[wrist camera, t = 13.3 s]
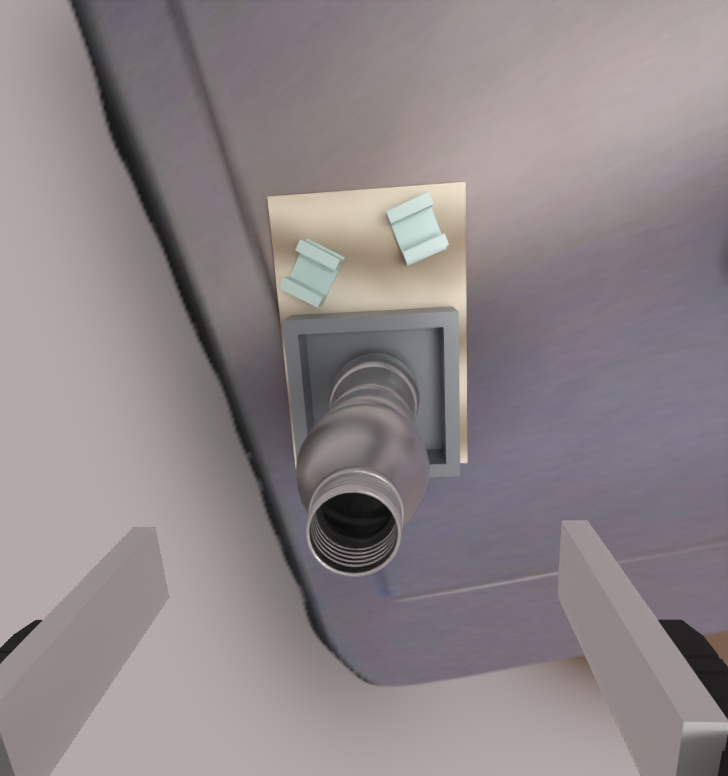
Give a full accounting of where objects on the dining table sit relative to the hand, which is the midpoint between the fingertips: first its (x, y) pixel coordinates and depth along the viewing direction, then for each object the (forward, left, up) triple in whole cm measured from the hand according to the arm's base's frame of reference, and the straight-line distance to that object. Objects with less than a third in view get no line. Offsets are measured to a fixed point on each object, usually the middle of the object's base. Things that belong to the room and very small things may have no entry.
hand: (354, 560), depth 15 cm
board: (-4, 0, -24) cm, 24 cm away
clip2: (-9, -4, -23) cm, 25 cm away
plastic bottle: (0, 0, -22) cm, 22 cm away
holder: (0, 0, -23) cm, 23 cm away
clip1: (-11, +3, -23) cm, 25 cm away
